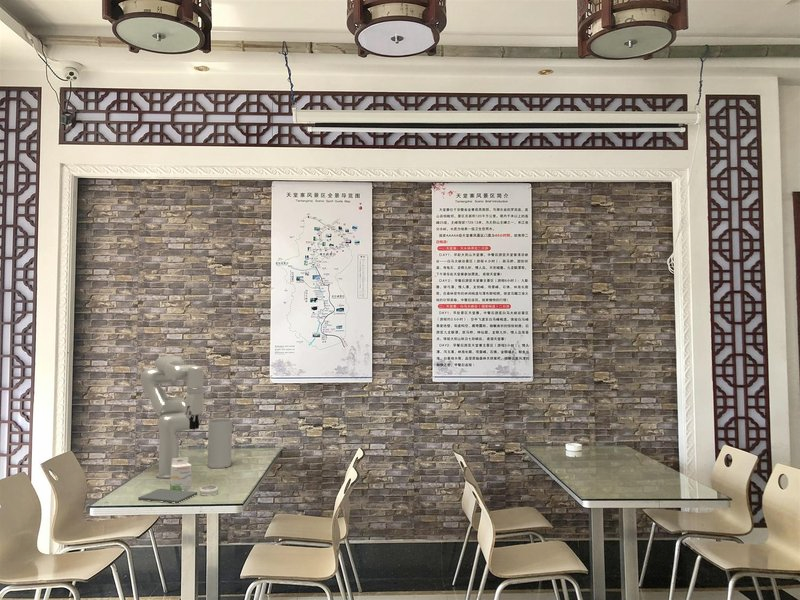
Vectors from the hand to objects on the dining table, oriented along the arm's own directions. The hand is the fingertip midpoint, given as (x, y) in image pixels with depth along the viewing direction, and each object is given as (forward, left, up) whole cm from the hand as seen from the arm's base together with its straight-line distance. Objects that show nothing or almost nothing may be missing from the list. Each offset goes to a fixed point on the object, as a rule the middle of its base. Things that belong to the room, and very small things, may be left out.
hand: (194, 428), depth 299 cm
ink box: (+10, 0, -27) cm, 29 cm away
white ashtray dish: (+12, +16, -27) cm, 34 cm away
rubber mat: (+23, +2, -27) cm, 35 cm away
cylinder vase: (-38, -8, -27) cm, 47 cm away
